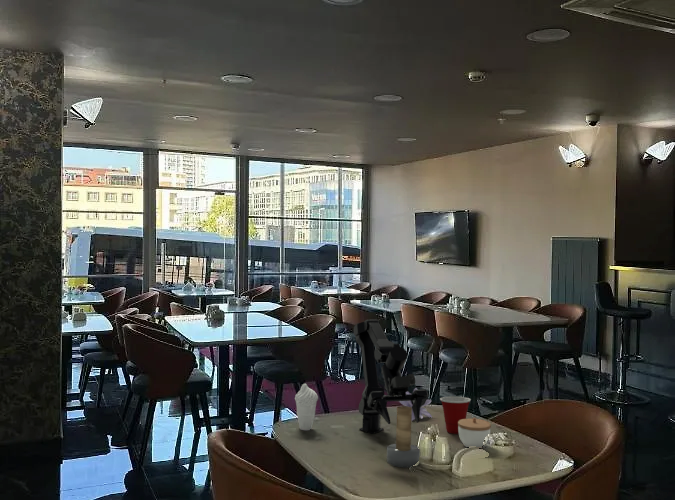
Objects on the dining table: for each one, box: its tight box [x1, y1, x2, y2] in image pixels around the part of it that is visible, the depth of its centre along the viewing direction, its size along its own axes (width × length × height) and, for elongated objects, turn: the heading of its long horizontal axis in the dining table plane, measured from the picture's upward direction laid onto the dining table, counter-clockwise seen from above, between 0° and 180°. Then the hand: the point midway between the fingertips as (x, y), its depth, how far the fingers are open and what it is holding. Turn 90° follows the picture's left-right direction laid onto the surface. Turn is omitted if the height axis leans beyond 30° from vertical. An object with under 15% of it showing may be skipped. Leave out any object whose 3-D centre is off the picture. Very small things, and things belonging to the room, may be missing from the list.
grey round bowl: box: [386, 443, 421, 468], centre depth 196 cm, size 10×10×4 cm
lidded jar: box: [458, 417, 492, 448], centre depth 213 cm, size 11×11×9 cm
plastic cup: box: [439, 396, 472, 435], centre depth 229 cm, size 11×11×12 cm
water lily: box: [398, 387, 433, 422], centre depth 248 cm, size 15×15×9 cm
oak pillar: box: [395, 405, 412, 451], centre depth 196 cm, size 4×4×12 cm
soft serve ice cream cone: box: [294, 383, 319, 431], centre depth 228 cm, size 8×8×16 cm
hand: (403, 422), depth 196 cm, fingers open, 9 cm apart
